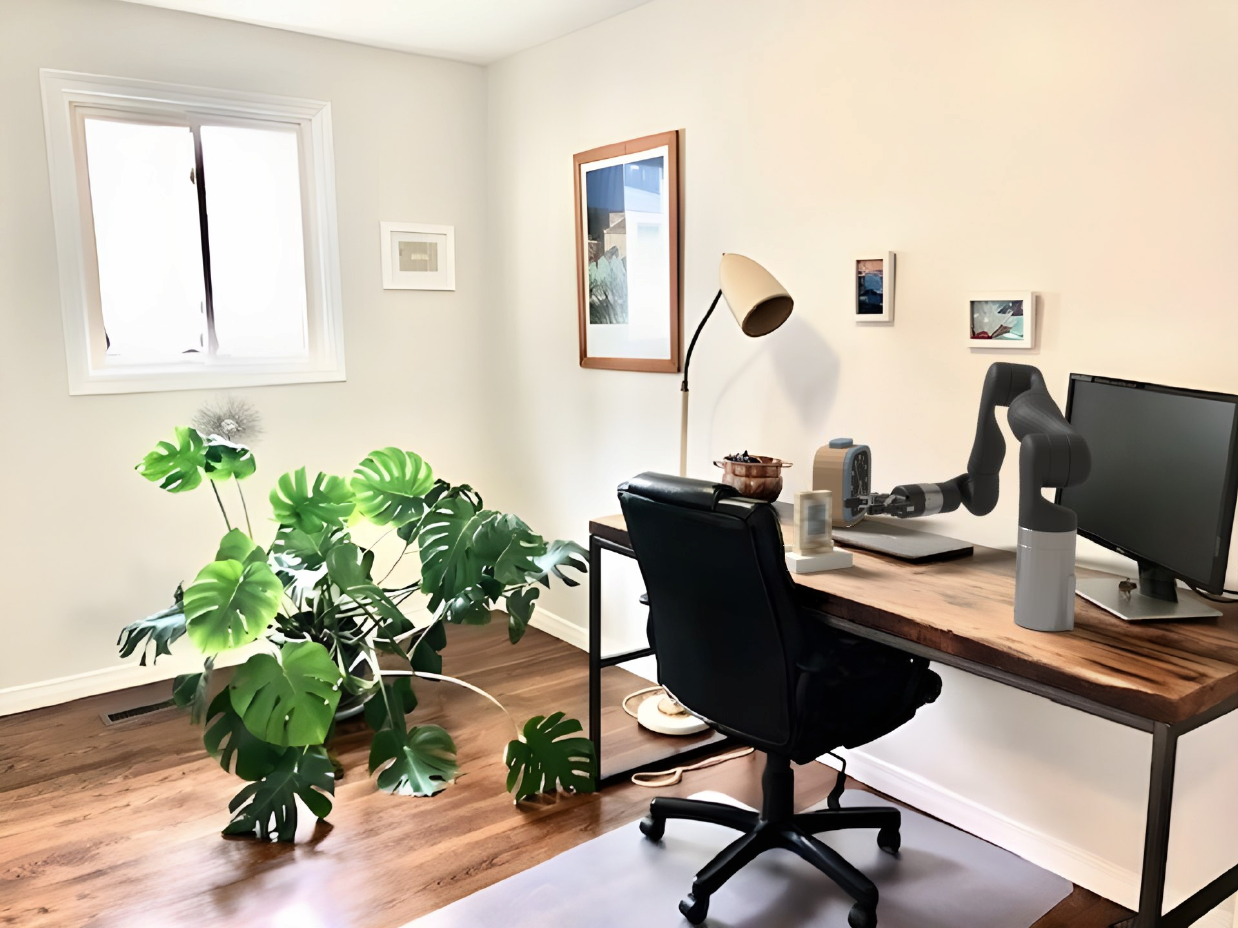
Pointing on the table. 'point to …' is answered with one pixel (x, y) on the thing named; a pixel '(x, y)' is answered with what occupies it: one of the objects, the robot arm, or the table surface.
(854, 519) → the alarm clock
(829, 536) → the frame
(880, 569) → the table surface
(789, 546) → the white rectangular block
